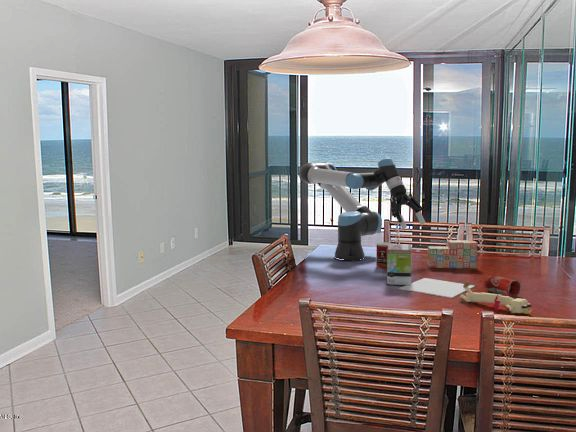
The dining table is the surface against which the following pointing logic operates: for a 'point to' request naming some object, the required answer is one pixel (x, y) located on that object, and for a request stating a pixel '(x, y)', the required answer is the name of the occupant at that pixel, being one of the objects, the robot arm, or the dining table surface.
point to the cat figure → (496, 300)
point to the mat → (436, 287)
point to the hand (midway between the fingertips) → (414, 226)
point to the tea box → (399, 264)
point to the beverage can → (502, 286)
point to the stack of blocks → (453, 255)
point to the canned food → (382, 254)
